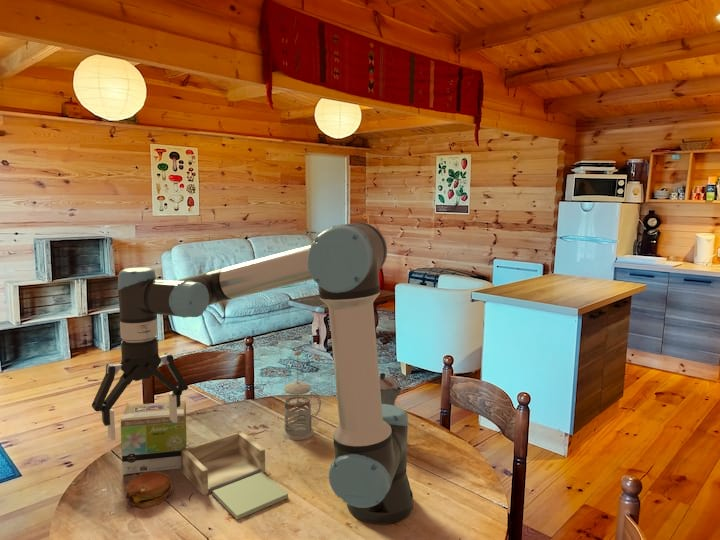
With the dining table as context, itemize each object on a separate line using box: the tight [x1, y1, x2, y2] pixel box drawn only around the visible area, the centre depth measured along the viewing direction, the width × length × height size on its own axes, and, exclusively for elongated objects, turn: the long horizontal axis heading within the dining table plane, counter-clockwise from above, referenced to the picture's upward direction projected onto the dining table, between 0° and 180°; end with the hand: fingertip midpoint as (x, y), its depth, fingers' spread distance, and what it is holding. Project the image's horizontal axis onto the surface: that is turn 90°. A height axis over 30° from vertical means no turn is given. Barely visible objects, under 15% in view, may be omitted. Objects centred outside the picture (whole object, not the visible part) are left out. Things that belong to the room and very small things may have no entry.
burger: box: [124, 471, 173, 509], centre depth 119 cm, size 10×9×5 cm
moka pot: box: [379, 372, 403, 406], centre depth 148 cm, size 10×15×20 cm, turn 58°
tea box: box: [120, 400, 187, 476], centre depth 133 cm, size 15×10×15 cm, turn 106°
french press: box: [280, 350, 322, 441], centre depth 151 cm, size 10×12×25 cm
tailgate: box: [210, 469, 289, 520], centre depth 120 cm, size 13×13×1 cm
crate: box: [181, 430, 266, 496], centre depth 130 cm, size 13×16×6 cm
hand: (143, 429), depth 117 cm, fingers open, 13 cm apart
